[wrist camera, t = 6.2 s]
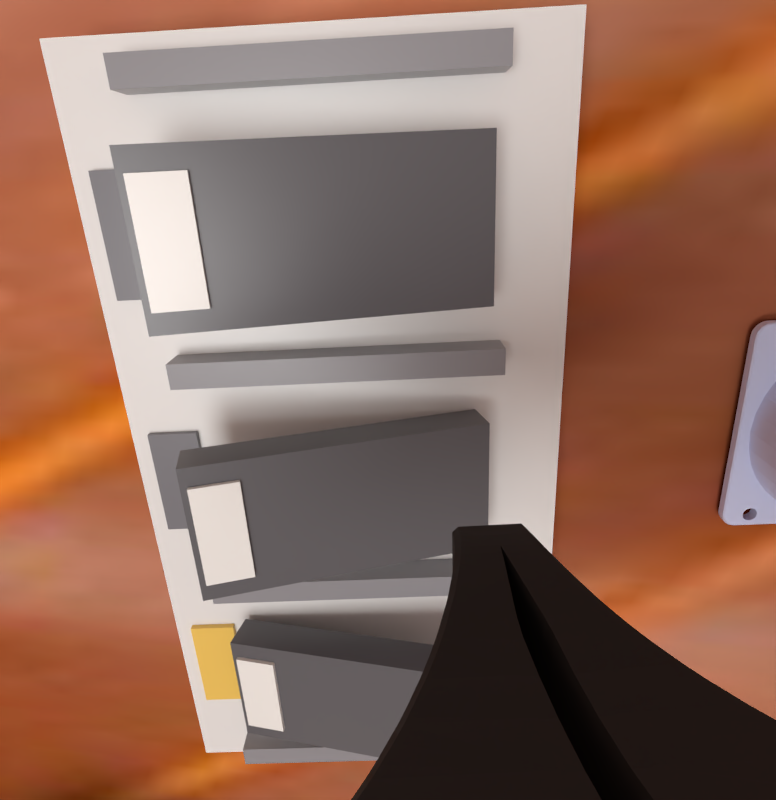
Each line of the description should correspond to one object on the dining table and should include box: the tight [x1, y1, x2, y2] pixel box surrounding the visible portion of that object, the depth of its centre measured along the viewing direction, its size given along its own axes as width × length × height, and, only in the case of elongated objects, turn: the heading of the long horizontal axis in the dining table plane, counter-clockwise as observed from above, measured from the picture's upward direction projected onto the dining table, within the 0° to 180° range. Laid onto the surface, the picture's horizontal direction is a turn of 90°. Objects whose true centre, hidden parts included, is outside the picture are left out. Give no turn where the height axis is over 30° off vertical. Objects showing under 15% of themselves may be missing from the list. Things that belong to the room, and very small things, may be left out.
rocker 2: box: [230, 619, 433, 757], centre depth 20 cm, size 9×4×1 cm, turn 93°
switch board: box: [39, 4, 586, 764], centre depth 20 cm, size 14×26×4 cm, turn 3°
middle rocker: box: [176, 409, 490, 601], centre depth 18 cm, size 9×4×1 cm, turn 93°
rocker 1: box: [109, 128, 497, 337], centre depth 15 cm, size 9×4×1 cm, turn 93°
